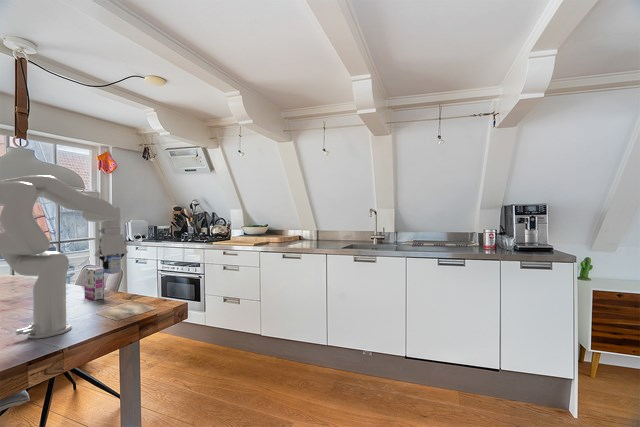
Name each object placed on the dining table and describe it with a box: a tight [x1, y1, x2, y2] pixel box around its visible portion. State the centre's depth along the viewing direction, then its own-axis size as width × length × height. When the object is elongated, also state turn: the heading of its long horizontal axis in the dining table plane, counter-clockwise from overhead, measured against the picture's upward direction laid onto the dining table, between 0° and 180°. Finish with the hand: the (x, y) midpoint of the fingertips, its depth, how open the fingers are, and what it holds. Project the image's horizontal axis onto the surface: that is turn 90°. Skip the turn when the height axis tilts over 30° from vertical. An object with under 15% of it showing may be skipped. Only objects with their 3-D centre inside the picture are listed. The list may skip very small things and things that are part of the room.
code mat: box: [96, 302, 158, 322], centre depth 140 cm, size 18×18×1 cm
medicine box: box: [102, 254, 122, 275], centre depth 147 cm, size 8×4×9 cm, turn 61°
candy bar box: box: [83, 266, 105, 302], centre depth 162 cm, size 11×5×16 cm, turn 60°
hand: (111, 267), depth 147 cm, fingers closed on medicine box, 4 cm apart
